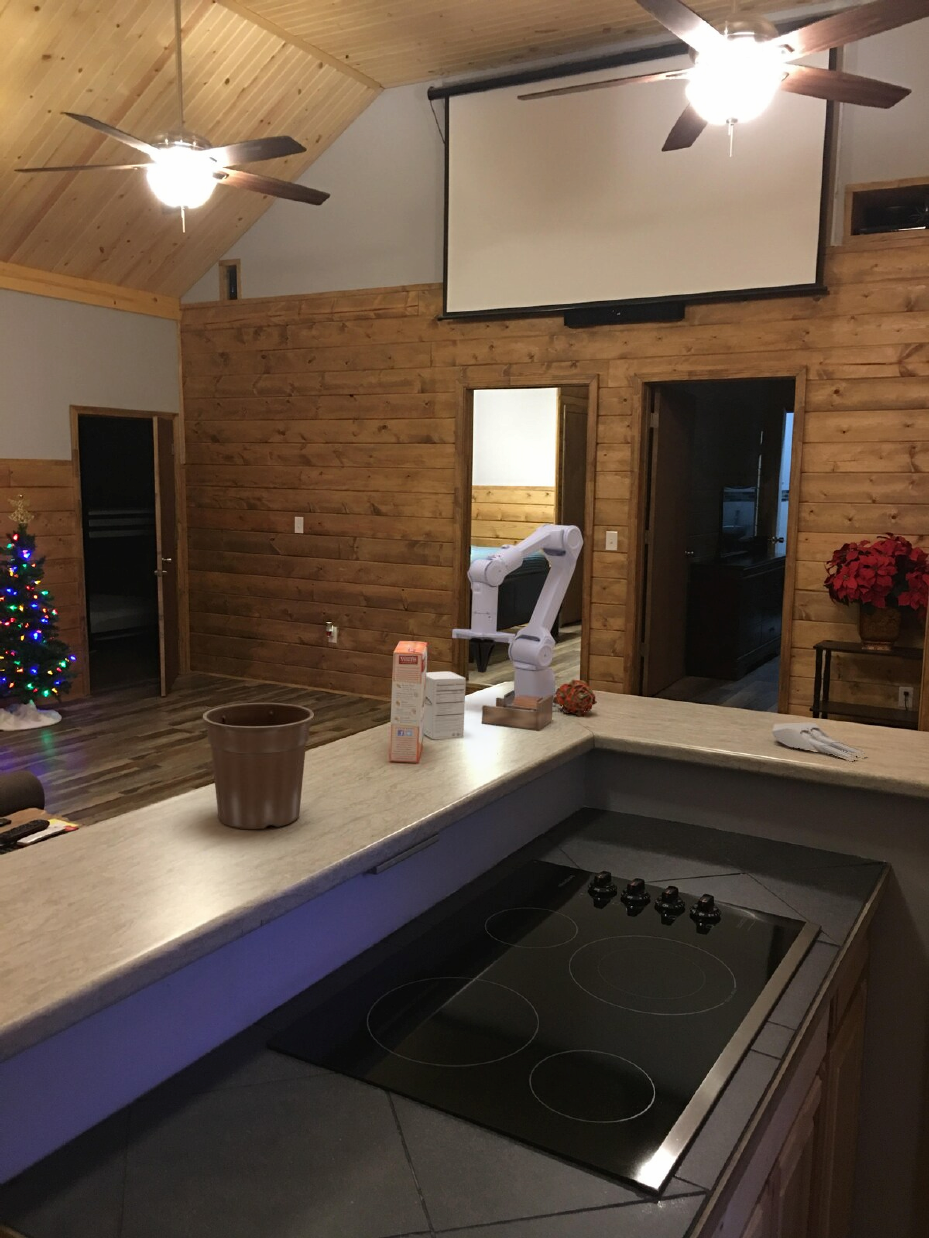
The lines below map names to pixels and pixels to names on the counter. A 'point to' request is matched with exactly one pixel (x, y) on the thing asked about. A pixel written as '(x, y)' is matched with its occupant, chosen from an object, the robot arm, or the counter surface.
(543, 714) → the brown wooden open box
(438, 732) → the supplement box
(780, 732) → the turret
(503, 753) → the counter surface
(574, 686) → the dragon fruit
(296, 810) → the plant pot
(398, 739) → the cracker box
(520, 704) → the wheeled platform dolly
